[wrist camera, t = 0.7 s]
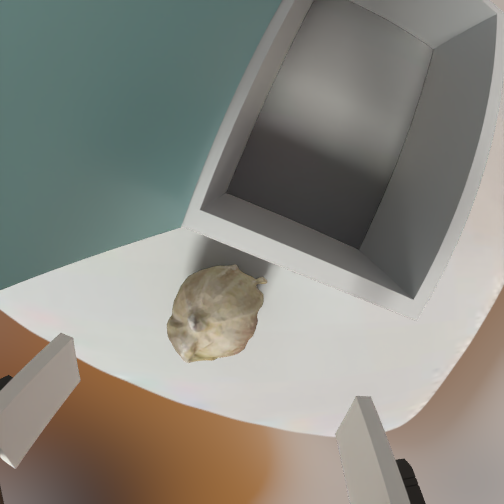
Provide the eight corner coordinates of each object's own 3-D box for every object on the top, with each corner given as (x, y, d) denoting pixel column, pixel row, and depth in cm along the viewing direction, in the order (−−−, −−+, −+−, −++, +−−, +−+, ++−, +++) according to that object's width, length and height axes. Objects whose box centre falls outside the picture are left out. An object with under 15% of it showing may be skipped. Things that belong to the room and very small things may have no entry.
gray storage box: (209, 200, 27) (171, 222, 15) (312, -22, 20) (332, -90, 8) (363, 265, 28) (416, 321, 17) (443, 48, 21) (506, 15, 10)
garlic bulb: (208, 317, 33) (168, 384, 24) (178, 252, 29) (121, 314, 21) (289, 313, 29) (264, 394, 21) (266, 237, 26) (225, 312, 17)
